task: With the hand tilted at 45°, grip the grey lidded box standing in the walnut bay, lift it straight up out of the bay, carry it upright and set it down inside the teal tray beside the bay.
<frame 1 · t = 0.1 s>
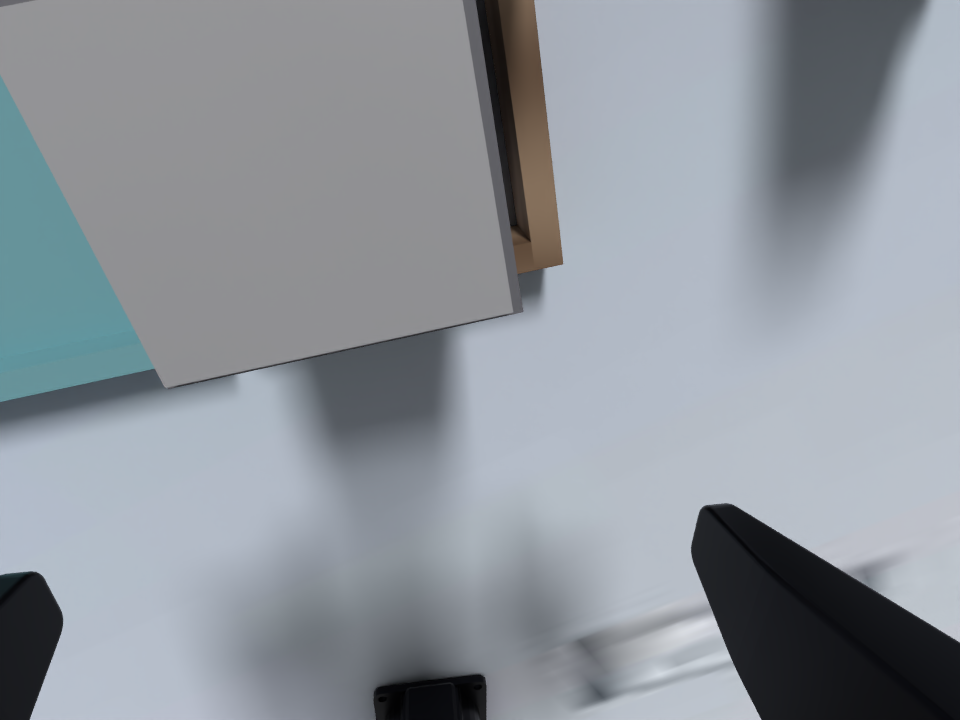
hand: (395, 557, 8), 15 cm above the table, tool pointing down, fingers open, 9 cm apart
walnut bay: (359, 122, 18), on the table
grey lidded box: (359, 121, 18), resting in walnut bay
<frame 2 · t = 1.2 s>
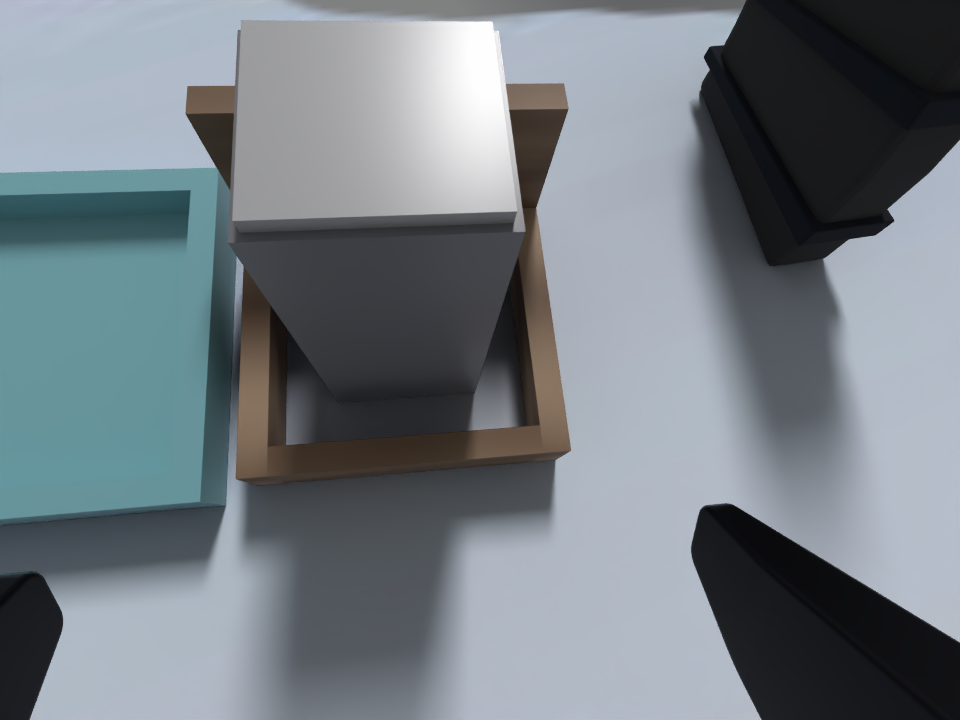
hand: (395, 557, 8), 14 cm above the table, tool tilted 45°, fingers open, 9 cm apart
teal tray: (53, 351, 21), on the table
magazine: (748, 153, 28), on the table
walnut bay: (403, 339, 23), on the table
grey lidded box: (403, 339, 23), resting in walnut bay
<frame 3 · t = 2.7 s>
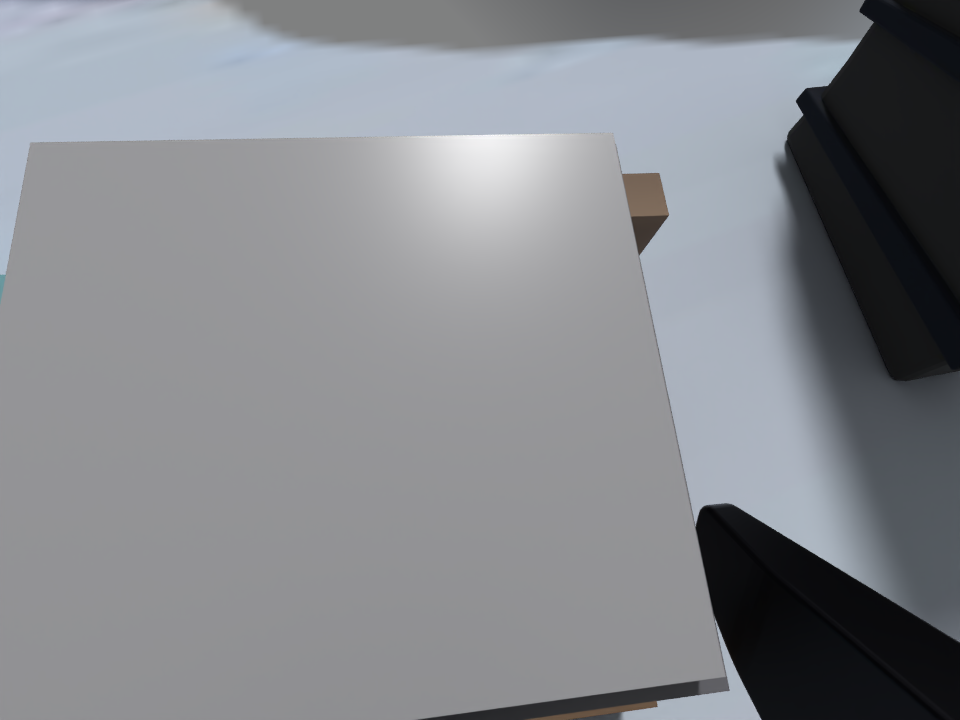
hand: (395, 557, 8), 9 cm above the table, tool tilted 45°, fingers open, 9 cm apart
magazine: (850, 223, 22), on the table
walnut bay: (406, 500, 16), on the table
grey lidded box: (406, 500, 16), resting in walnut bay
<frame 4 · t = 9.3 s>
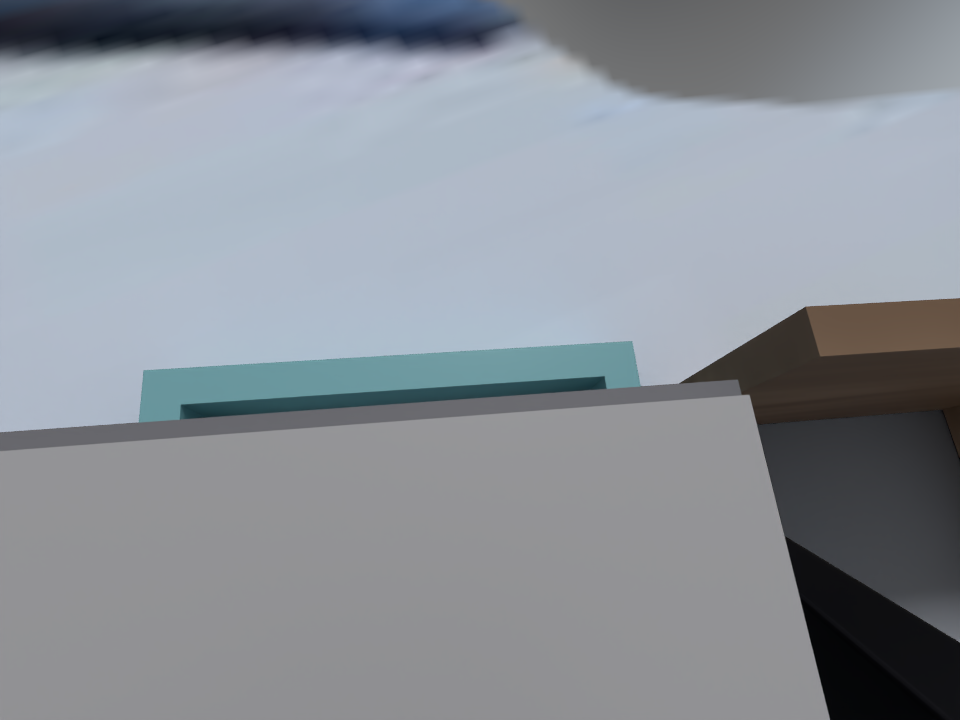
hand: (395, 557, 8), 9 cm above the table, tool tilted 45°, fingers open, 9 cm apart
teal tray: (415, 596, 16), on the table
walnut bay: (855, 561, 17), on the table
grey lidded box: (416, 599, 15), point 1 cm above the table, touching teal tray
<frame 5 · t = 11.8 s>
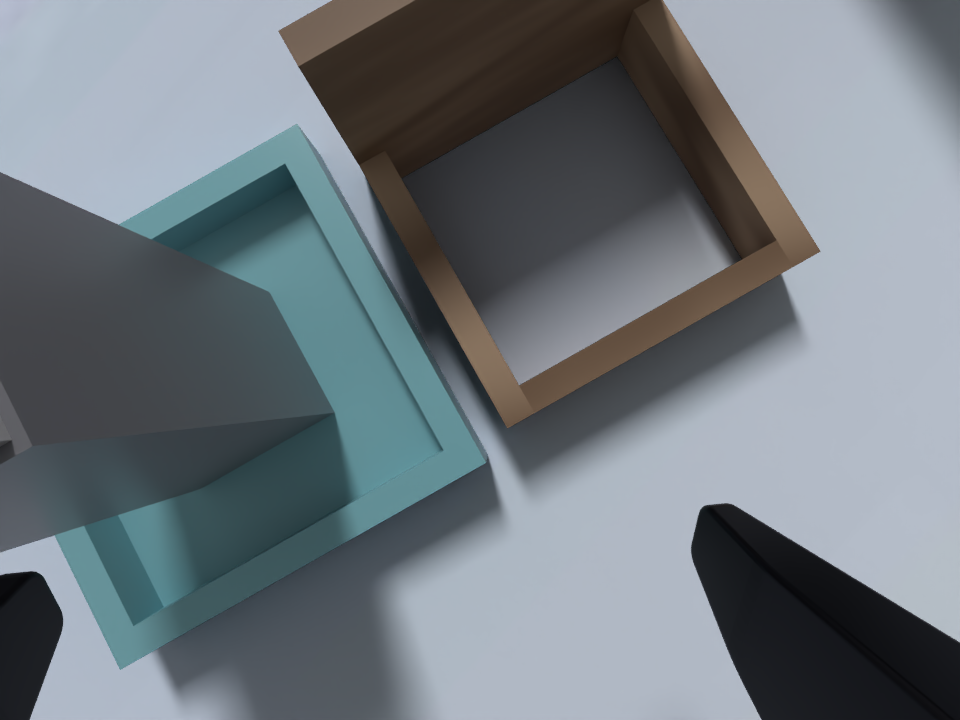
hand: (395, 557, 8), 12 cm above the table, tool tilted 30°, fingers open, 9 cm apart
teal tray: (244, 390, 20), on the table
walnut bay: (567, 218, 20), on the table
grey lidded box: (235, 389, 20), point 1 cm above the table, touching teal tray
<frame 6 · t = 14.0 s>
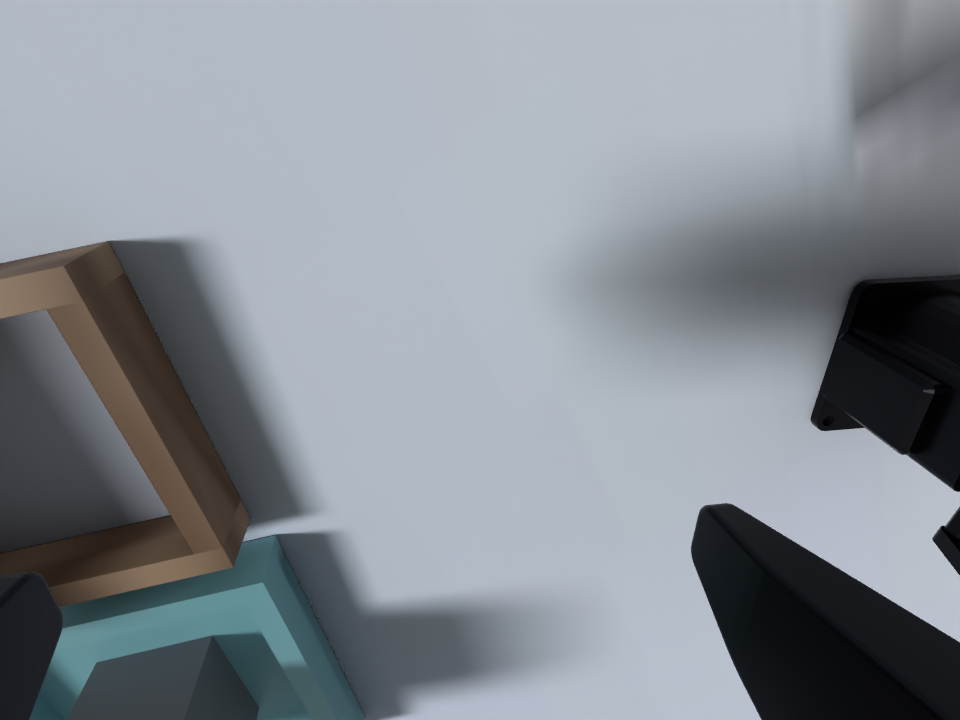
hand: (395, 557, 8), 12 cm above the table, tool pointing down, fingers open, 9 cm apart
teal tray: (188, 669, 25), on the table
walnut bay: (32, 433, 19), on the table
grey lidded box: (182, 686, 25), point 1 cm above the table, touching teal tray
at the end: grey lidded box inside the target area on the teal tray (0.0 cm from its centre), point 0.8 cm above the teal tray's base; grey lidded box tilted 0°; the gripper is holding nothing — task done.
